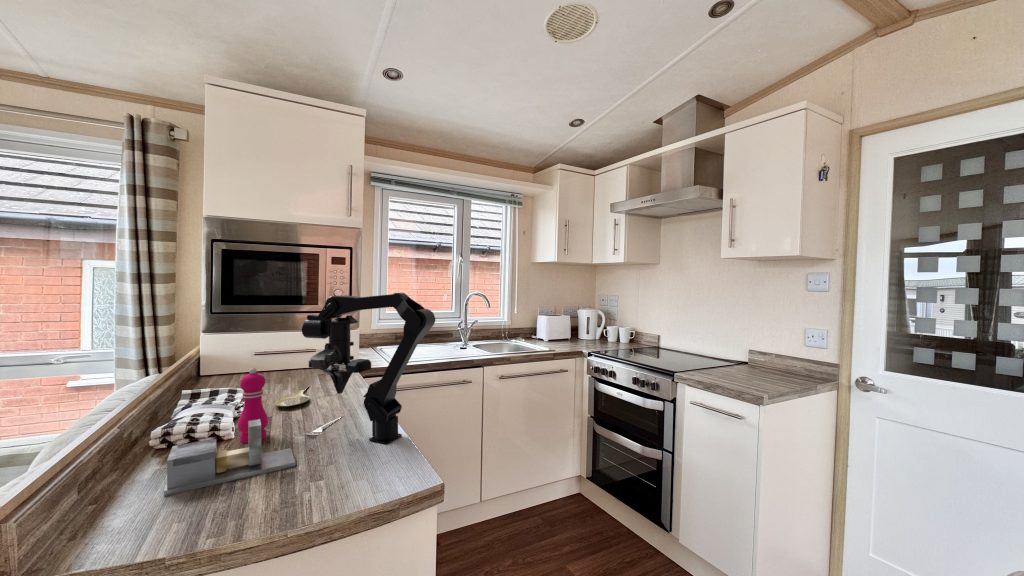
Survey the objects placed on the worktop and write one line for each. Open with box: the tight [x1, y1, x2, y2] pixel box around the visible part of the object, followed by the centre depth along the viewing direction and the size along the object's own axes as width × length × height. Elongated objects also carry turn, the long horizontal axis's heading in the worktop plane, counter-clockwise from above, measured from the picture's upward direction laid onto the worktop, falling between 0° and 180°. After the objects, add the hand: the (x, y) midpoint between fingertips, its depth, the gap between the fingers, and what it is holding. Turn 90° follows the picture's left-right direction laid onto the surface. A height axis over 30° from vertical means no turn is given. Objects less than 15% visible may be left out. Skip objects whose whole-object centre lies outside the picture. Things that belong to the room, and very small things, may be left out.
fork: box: [302, 416, 342, 436], centre depth 124 cm, size 3×20×2 cm, turn 173°
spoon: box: [274, 389, 310, 407], centre depth 155 cm, size 35×11×2 cm, turn 17°
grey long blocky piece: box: [163, 438, 297, 497], centre depth 94 cm, size 24×10×7 cm, turn 124°
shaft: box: [215, 419, 262, 473], centre depth 92 cm, size 15×5×9 cm, turn 124°
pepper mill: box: [237, 367, 269, 444], centre depth 113 cm, size 7×7×20 cm
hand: (339, 393), depth 116 cm, fingers closed
